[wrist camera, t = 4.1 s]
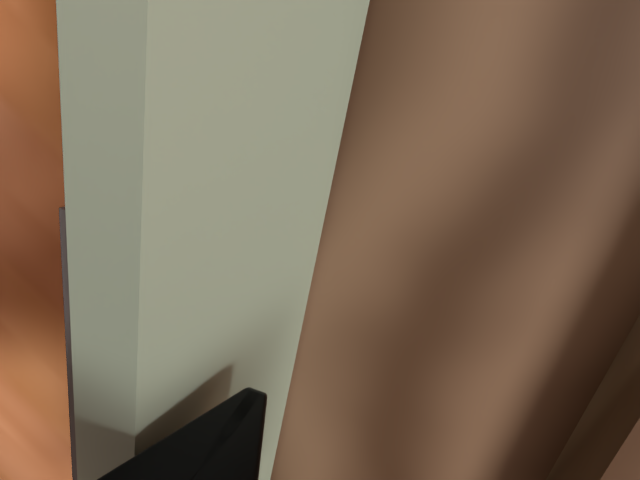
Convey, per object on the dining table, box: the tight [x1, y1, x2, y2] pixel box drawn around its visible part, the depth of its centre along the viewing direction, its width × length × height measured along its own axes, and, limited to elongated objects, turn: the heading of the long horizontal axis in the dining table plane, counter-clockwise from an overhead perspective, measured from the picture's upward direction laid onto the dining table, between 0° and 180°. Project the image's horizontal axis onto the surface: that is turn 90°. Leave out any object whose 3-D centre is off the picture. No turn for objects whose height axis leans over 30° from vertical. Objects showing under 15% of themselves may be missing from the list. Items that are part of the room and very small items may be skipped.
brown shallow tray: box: [270, 0, 640, 480], centre depth 13 cm, size 12×26×3 cm, turn 169°
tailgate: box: [56, 0, 370, 480], centre depth 10 cm, size 2×24×8 cm, turn 169°
